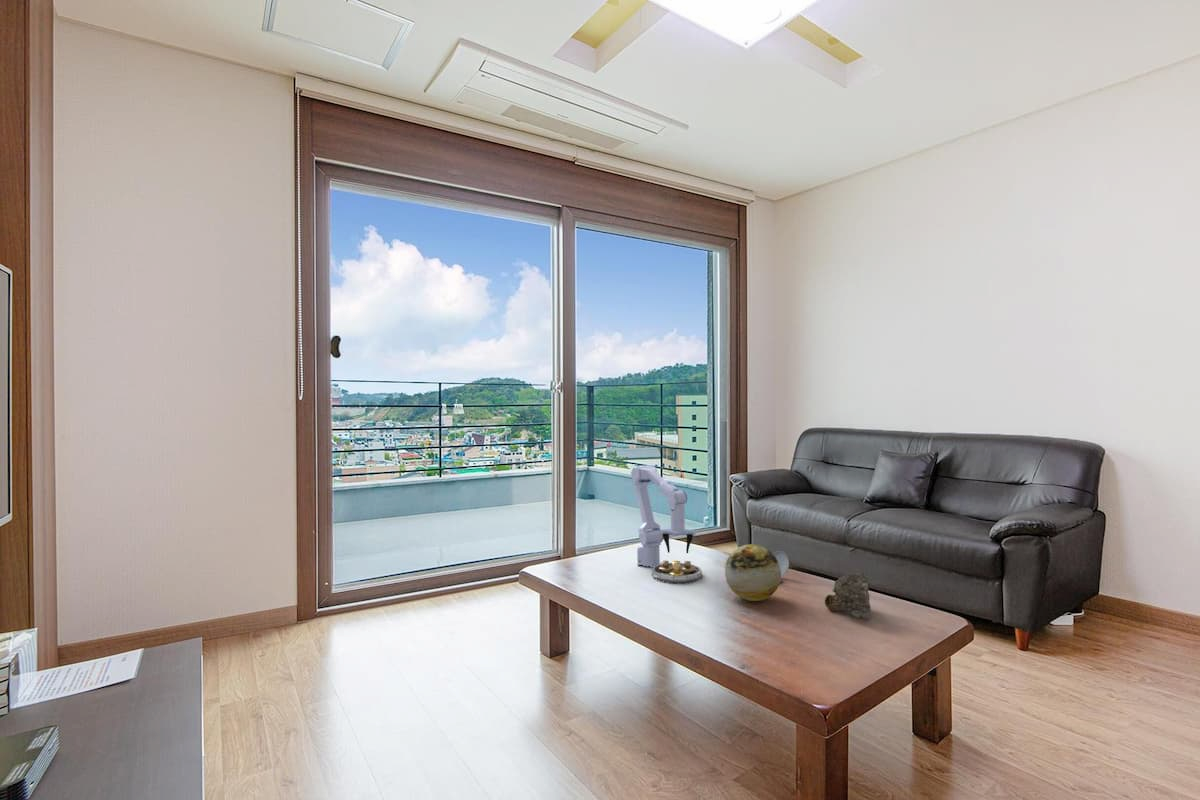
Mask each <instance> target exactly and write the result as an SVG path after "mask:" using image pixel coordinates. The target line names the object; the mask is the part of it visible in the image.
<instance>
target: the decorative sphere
mask: <svg viewBox="0 0 1200 800" xmlns="http://www.w3.org/2000/svg"><path fill="white" fill-rule="evenodd" d="M724 576H725V578H726V582H727V584H728V587H729V588H730V590H731V591H732V592H733V593H734V594H735V595H736V596H738V597H739V598H741V599H744V600H745V601H750V602H761V601H764V600H766V599H768V598H770V597H771V596H773V595H774V593H776V591H777V590H778V588H779V586H780V583H781V582H780V580H781V579H782V575H781V569H780V565H779V563H778V561H777V559H776V557H775V556H774V555H773V552H771V550H770V549H768V548H767V547H764V546H762V545H759V544H755V543H754V544H752V543H750V544H744V545H740V546H739V547H736V549H734V550H733V551H732V552H731V553H730V554H729V556H728V557H727V560H726V563H725V566H724ZM781 581H782V580H781Z"/></svg>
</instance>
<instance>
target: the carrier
mask: <svg viewBox="0 0 1200 800" xmlns="http://www.w3.org/2000/svg"><path fill="white" fill-rule="evenodd" d="M661 562H662V563H663V564H659V565H656V566H654V567H653V568H652V567H651V577H652V576H653V577H654V578H655V579H657V580H656V581H658V580H660V581H659V582H661V581H664V582H663V583H666V582H669V583H668V584H677V583H681V584H690V583H689V582H691V583H695V582H699V581H700V580H702V578H703V571H702V569H701V567H700V566H698V565H694V564H692V563H691V560H685V561H684V563H683V562H680V568H681V572H684V576H671V575H669V572H672V571H673V563H672V562H670V561H669V560H663V561H661ZM653 577H652V578H653ZM701 577H702V578H701ZM654 578H653V579H654ZM655 579H654V580H655ZM699 579H700V580H699Z"/></svg>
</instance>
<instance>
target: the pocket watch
mask: <svg viewBox="0 0 1200 800" xmlns="http://www.w3.org/2000/svg"><path fill="white" fill-rule="evenodd" d="M772 554H773V555H774V556H775V557H776V559H777V561H778V563H779V565H780V569H781V576H784V575H785V574H786V573H787V572H788V570H789V568H790V560H789V559H790V558H789V556H788V555H787V554H786V552H784V551H782V550H776V551H774V552H772ZM781 582H782V578H781V580H780V583H781Z"/></svg>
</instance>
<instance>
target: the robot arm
mask: <svg viewBox="0 0 1200 800" xmlns="http://www.w3.org/2000/svg"><path fill="white" fill-rule="evenodd" d="M657 471H658V470H657V468H656V467H655V466H654V464H649V465H635V466H633V467H632V470H631V471H630V475H631V480H632V484H633V486H634V490H635V494H636V499H637V503H638V508H639V512H640V513H639V514H640V517H641V521H642V524H641V526H640V527H639V528H638V540H639V545H638V546H637V551H636V552H637V553H636V554H637V559H636V560H637V564H636V566H637V565H643V566H642V567H644V566H650V567H649V568H652V567H654V566H656V565H659V564H663V563H662V561H660V560H661V558H660V557H661V556H660V553H661V552H660V551H661V549H660V546H661V545H662V543H663V542H664V543H665V546H666V549H667V553H668V554H669V553H670V549H671V547H670V536H686V552H685V553H686V554H689V549H690V545H691V543H692V540H693V537H695V536H696V530H695V529H686V528H685V525H686V524H685V504H687V502H688V494H687V492H686V491H685V490H684V489H679V488H678V487H676V486H675V485H674V484H673V483H672V482H671V481H670V480H665V479H664V478H663V477H662V476H661V475H660V474H659V472H657ZM652 482H653V483H654V484H655V485H656V486H658V490H659V491H660V492H661V494H662V495H663V496H665V497H666V499H667V502H668V504H669V509H670V528H667V529H664V528H663V529H661V525H660V524H658V523H657V522H656V521H655V517H654V514H653V508H652V505H651V501H650V496H649V491H648V486H649V485H650V484H651V483H652Z"/></svg>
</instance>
